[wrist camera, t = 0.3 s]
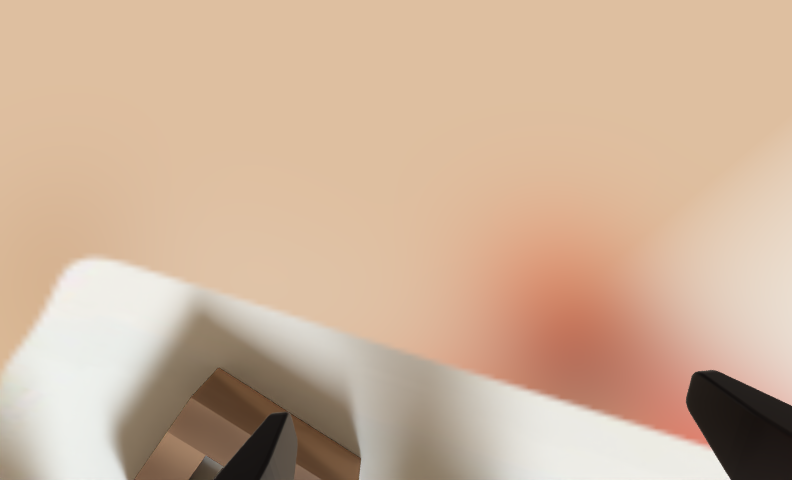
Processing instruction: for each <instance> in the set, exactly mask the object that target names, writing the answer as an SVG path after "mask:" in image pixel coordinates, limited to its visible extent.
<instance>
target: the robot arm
mask: <svg viewBox="0 0 792 480" xmlns="http://www.w3.org/2000/svg"><path fill="white" fill-rule="evenodd" d="M686 404H687V407H688V410H689V412H690V414H691V415H692V417H693V419H694V420H695V422H696V423H697V425H698V427H699V428H700V430H701V432H702V433H703V435H704V437H705V438H706V440H707V442H708V443H709V445H710V447H711V448H712V450H713V452H714V453H715V455H716V457H717V458H718V460H719V462H720V463H721V465H722V467H723V468H724V470H725V471H726V473H727V474H728V476H729V478H730V479H731V480H792V406H791V405H789V404H787V403H785V402H782V401H780V400H778V399H776V398H774V397H772V396H770V395H767V394H765V393H763V392H761V391H759V390H757V389H755V388H753V387H751V386H748V385H746V384H744V383H742V382H740V381H738V380H736V379H733V378H731V377H729V376H727V375H725V374H723V373H720V372H718V371H715V370H708V371H698V372H695V373H694V374H693V375H692V378H691V382H690V386H689V389H688V393H687V397H686ZM297 446H298V443H297V436H296V432H295V428H294V424H293V421H292V417H291V415H290V413H289V412H276V413H271V414H270V415H269V416H268V417H267V418H266V419H265V420H264V421H263V422H262V424H261V425H260V426H259V427H258V428H257V429H256V430H255V432H254V433H253V434H252V435H251V436H250V437H249V439H248V440H247V441H246V442H245V443H244V444H243V445H242V447H241V448H240V449H239V450H238V451H237V452H236V454H235V455H234V456H233V457H232V458H231V459H230V460H229V462H228V463H227V464H226V465H225V466H224V467H223V469H222V470H221V471H220V472H219V473H218V474H217V476H216V477H215V478H214V479H213V480H294V474H295V465H296V457H297Z"/></svg>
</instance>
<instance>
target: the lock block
mask: <svg viewBox="0 0 792 480" xmlns="http://www.w3.org/2000/svg"><path fill="white" fill-rule="evenodd" d="M276 412H287V411H286V410H284V409H283V408H281V407H280V406H278V405H276V404H275V403H273V402H272V401H270V400H269V399H267V398H266V397H264V396H262V395H261V394H259V393H258V392H256V391H255V390H253V389H251V388H250V387H248V386H247V385H245V384H244V383H242V382H241V381H239V380H237V379H236V378H234V377H233V376H231V375H230V374H228V373H227V372H225V371H223V370H222V369H220V368H218V369H217V370H216V371H215V372H214V373H213V374H212V375H211V376H210V377H209V378H208V380H207V381H206V382H205V383H204V384H203V385H202V386H201V387H200V388H199V389H198V390H197V391H196V392H195V393H194V394H193V396H192V397H191V398H190V399H189V401H188V402H187V404H186V405H185V406H184V408H183V409H182V411H181V412H180V414H179V415H178V417H177V418H176V420H175V421H174V422H173V424H172V425H171V427H170V428H169V430H168V431H167V433H166V434H165V435H164V437H163V438H162V440H161V441H160V443H159V444H158V446H157V447H156V449H155V450H154V451H153V453H152V454H151V456H150V457H149V459H148V460H147V462H146V463H145V464H144V466H143V467H142V469H141V470H140V472H139V473H138V475H137V476H136V478H135V479H134V480H189V478H190V477H191V475H192V474H193V473H194V471H195V470H196V468H197V467H198V466H199V464H200V463H201V461H202V460H203V459H204V457H205V456H208V457H209V458H211V459H213V460H214V461H216V462H217V463H219V464H221V465H222V466H225V465H226V464H227V463H228V462H229V460H230V459H231V458H232V457H233V456H234V455H235V454H236V452H237V451H238V450H239V449H240V448H241V447H242V445H243V444H244V443H245V442H246V441H247V440H248V439H249V437H250V436H251V435H252V434H253V433H254V432H255V430H256V429H257V428H258V427H259V426H260V425H261V424H262V422H263V421H264V420H265V419H266V418H267V417H268V416H269V415H270V414H271V413H276ZM290 415H291V417H292V421H293V424H294V428H295V432H296V436H297V443H298V446H297V457H296V465H295V474H294V480H359V472H360V464H361V458H359V457H358V456H356V455H355V454H353V453H351V452H350V451H348V450H347V449H345V448H344V447H342V446H341V445H339V444H337V443H336V442H334V441H333V440H331V439H330V438H328V437H326V436H325V435H323V434H322V433H320V432H319V431H317V430H316V429H314V428H312V427H311V426H309V425H308V424H306V423H305V422H303V421H301V420H300V419H298V418H297V417H295V416H294V415H292V414H291V413H290Z"/></svg>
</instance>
